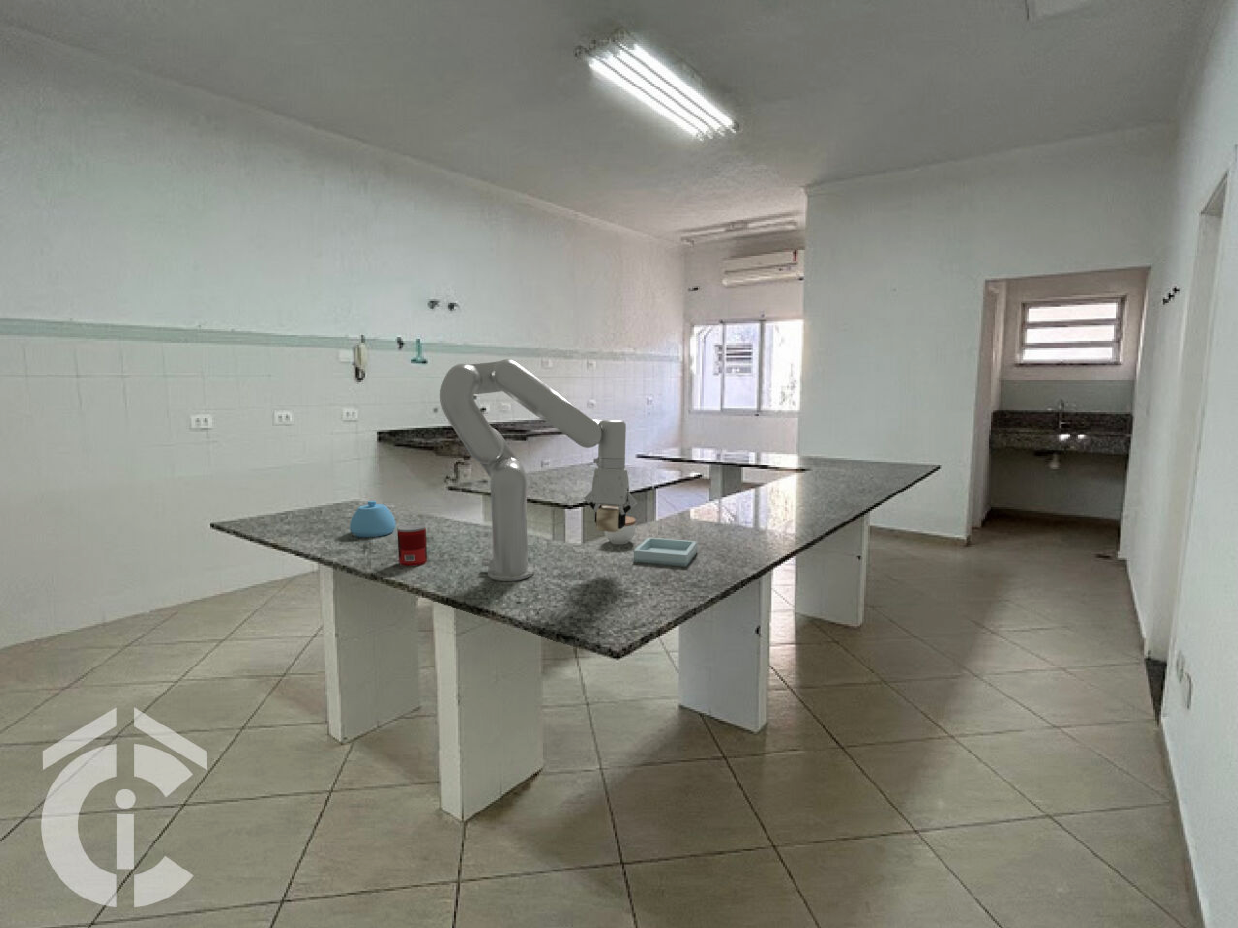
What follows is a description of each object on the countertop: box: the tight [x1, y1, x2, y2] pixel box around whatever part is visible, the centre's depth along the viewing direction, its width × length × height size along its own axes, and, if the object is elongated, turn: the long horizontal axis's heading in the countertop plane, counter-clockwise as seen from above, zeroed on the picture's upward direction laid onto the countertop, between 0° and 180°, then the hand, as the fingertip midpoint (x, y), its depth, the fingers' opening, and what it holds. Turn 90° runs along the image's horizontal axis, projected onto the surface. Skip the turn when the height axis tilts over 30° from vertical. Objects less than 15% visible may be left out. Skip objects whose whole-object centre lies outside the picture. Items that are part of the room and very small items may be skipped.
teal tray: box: [633, 537, 698, 568], centre depth 189 cm, size 16×16×4 cm
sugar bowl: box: [349, 500, 397, 538], centre depth 218 cm, size 15×15×12 cm
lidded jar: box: [604, 516, 637, 545], centre depth 206 cm, size 11×11×9 cm
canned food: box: [396, 523, 428, 567], centre depth 183 cm, size 8×8×11 cm
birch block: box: [595, 505, 623, 532], centre depth 176 cm, size 6×6×6 cm
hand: (609, 525), depth 176 cm, fingers closed on birch block, 6 cm apart
